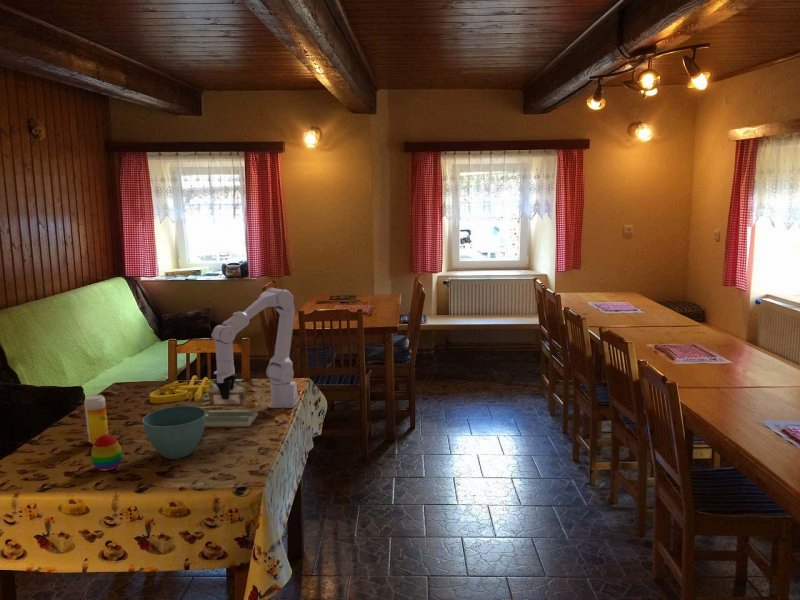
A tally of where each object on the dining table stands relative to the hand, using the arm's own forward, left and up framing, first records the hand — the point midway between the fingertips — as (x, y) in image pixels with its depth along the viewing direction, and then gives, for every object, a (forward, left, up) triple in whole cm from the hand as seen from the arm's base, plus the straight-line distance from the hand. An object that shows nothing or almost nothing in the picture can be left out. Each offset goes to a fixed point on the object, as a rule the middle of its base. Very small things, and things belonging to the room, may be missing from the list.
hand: (227, 397), depth 227 cm
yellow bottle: (+37, +20, -9) cm, 43 cm away
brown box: (0, 0, -3) cm, 3 cm away
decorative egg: (+24, +40, -9) cm, 47 cm away
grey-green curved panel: (0, +1, -8) cm, 8 cm away
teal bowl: (+7, +30, -9) cm, 32 cm away
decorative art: (+29, -35, -9) cm, 46 cm away
